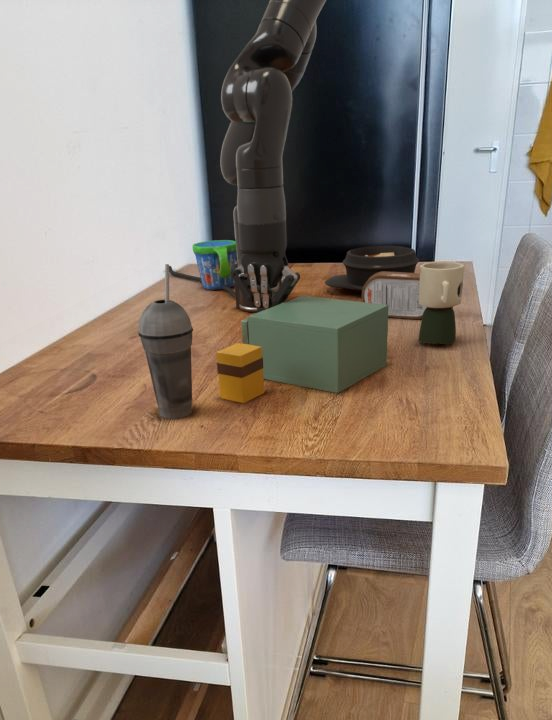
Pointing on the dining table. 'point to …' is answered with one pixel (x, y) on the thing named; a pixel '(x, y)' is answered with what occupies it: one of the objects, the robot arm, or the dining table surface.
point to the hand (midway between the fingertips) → (267, 328)
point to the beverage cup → (168, 353)
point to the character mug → (439, 300)
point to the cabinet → (321, 341)
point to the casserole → (373, 265)
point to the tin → (395, 293)
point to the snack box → (240, 372)
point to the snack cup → (215, 262)
